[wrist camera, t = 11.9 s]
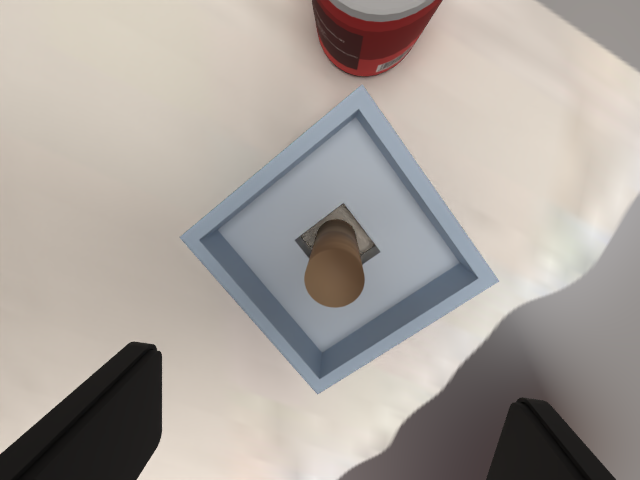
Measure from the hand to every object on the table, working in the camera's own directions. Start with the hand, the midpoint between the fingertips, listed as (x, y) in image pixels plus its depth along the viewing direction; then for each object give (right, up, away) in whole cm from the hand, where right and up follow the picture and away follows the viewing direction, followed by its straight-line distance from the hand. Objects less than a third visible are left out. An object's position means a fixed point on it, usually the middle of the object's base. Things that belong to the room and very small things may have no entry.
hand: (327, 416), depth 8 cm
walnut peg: (+1, +5, +19) cm, 20 cm away
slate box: (+1, +5, +19) cm, 20 cm away
